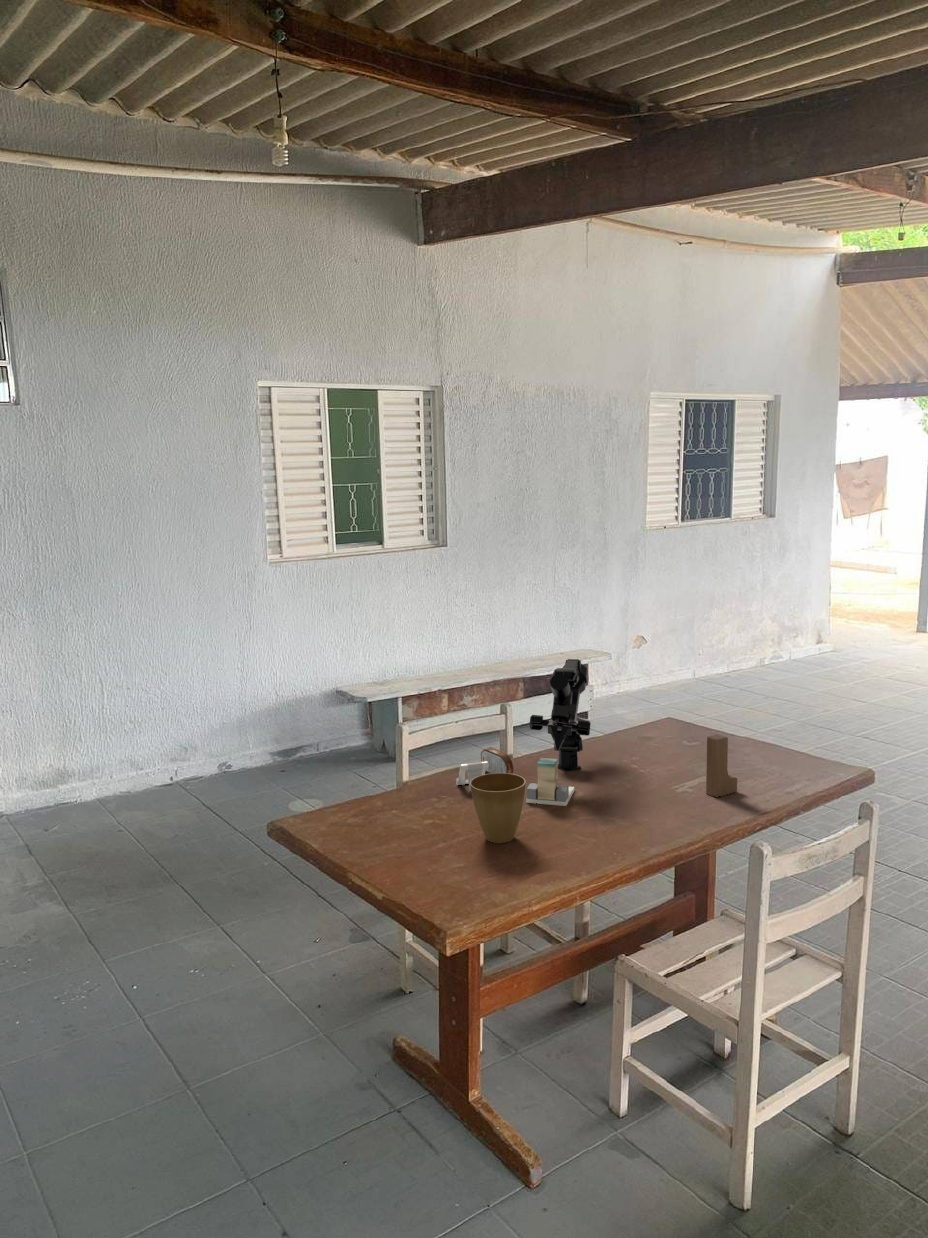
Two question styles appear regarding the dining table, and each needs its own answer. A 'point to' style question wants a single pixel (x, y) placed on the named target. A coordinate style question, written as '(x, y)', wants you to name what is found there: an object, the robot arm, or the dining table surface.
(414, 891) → the dining table surface
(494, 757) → the tin
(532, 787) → the block holder base
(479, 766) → the portable electronic device stand
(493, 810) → the plant pot
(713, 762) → the wooden block
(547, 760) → the peg
